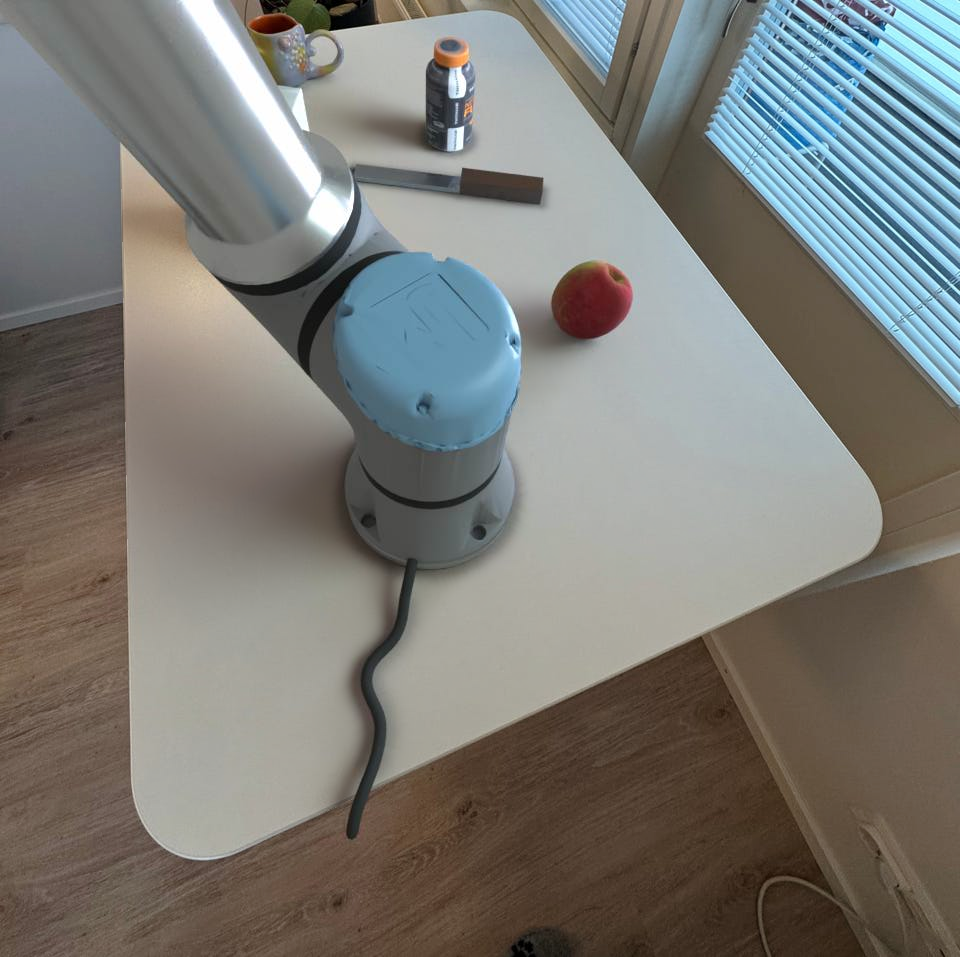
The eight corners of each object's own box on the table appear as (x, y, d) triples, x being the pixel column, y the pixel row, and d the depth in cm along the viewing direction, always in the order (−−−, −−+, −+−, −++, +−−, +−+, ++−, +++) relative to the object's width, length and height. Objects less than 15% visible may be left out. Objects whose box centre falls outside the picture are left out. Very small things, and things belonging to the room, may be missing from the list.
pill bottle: (471, 154, 81) (477, 62, 71) (424, 151, 80) (424, 58, 70) (471, 125, 84) (477, 32, 74) (426, 122, 83) (426, 28, 73)
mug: (253, 90, 84) (239, 36, 78) (259, 60, 87) (247, 6, 81) (345, 95, 85) (338, 42, 79) (348, 65, 88) (342, 12, 82)
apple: (613, 362, 67) (635, 309, 60) (539, 343, 67) (552, 288, 60) (624, 310, 70) (646, 254, 63) (554, 292, 71) (568, 235, 64)
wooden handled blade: (541, 190, 79) (543, 177, 77) (540, 204, 78) (542, 191, 76) (357, 167, 78) (355, 154, 77) (353, 181, 77) (351, 168, 75)
